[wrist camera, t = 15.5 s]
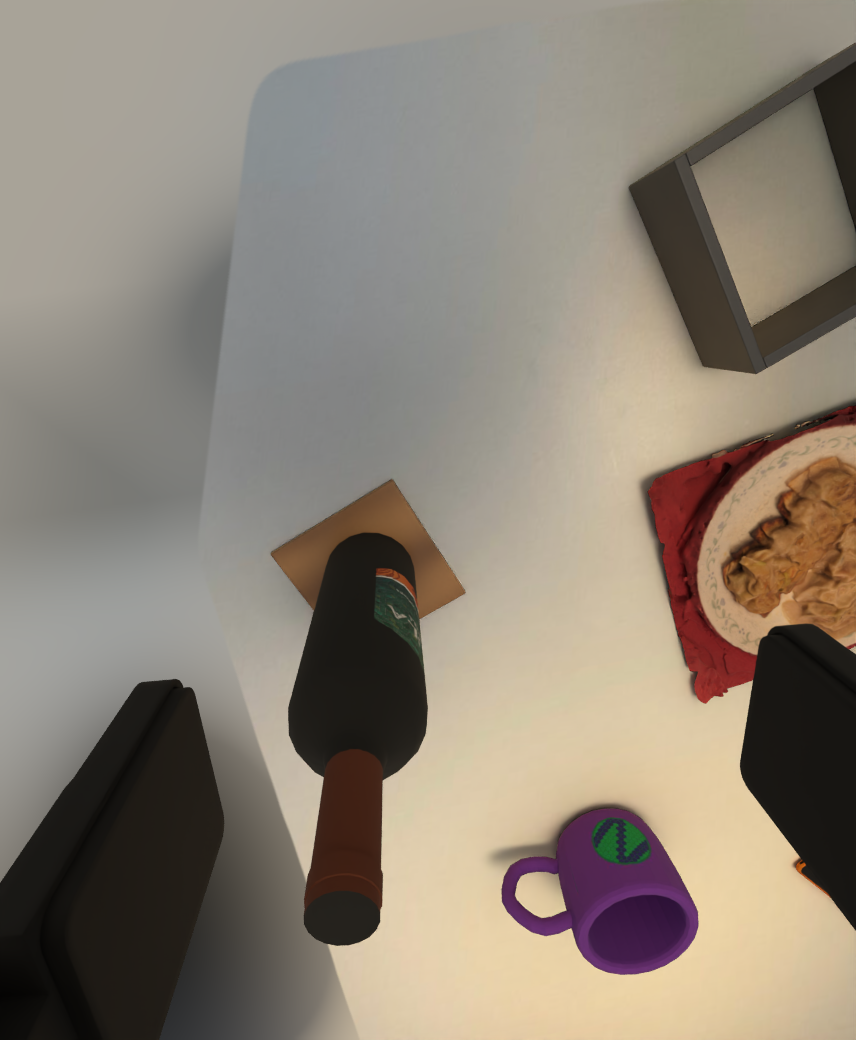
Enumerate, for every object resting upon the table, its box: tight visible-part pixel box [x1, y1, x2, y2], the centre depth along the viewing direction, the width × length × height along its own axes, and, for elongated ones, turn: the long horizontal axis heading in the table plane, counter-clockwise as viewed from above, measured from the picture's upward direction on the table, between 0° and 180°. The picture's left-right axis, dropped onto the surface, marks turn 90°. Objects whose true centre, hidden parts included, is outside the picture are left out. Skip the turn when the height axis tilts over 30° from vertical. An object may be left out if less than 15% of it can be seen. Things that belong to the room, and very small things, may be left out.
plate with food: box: [648, 405, 856, 704], centre depth 50 cm, size 24×26×3 cm
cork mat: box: [271, 479, 465, 619], centre depth 49 cm, size 12×12×1 cm
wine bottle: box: [288, 532, 428, 946], centre depth 35 cm, size 8×8×30 cm
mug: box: [502, 809, 698, 975], centre depth 56 cm, size 17×11×10 cm, turn 94°
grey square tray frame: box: [629, 43, 856, 374], centre depth 39 cm, size 15×15×7 cm
